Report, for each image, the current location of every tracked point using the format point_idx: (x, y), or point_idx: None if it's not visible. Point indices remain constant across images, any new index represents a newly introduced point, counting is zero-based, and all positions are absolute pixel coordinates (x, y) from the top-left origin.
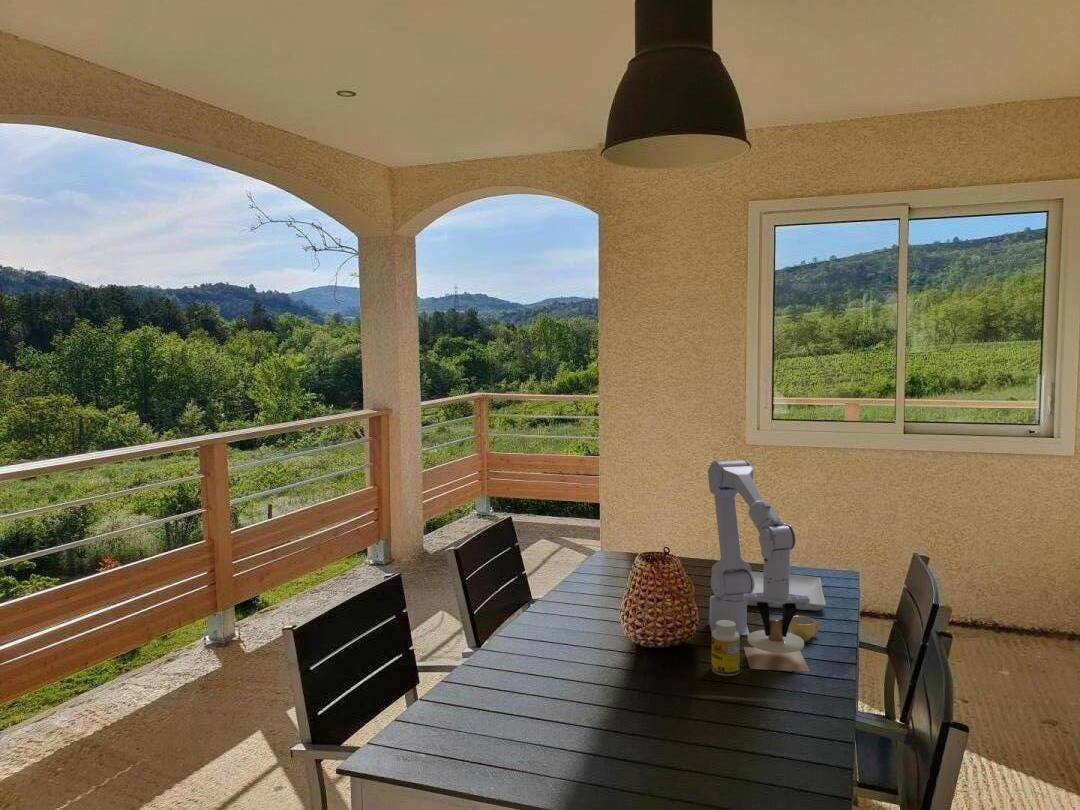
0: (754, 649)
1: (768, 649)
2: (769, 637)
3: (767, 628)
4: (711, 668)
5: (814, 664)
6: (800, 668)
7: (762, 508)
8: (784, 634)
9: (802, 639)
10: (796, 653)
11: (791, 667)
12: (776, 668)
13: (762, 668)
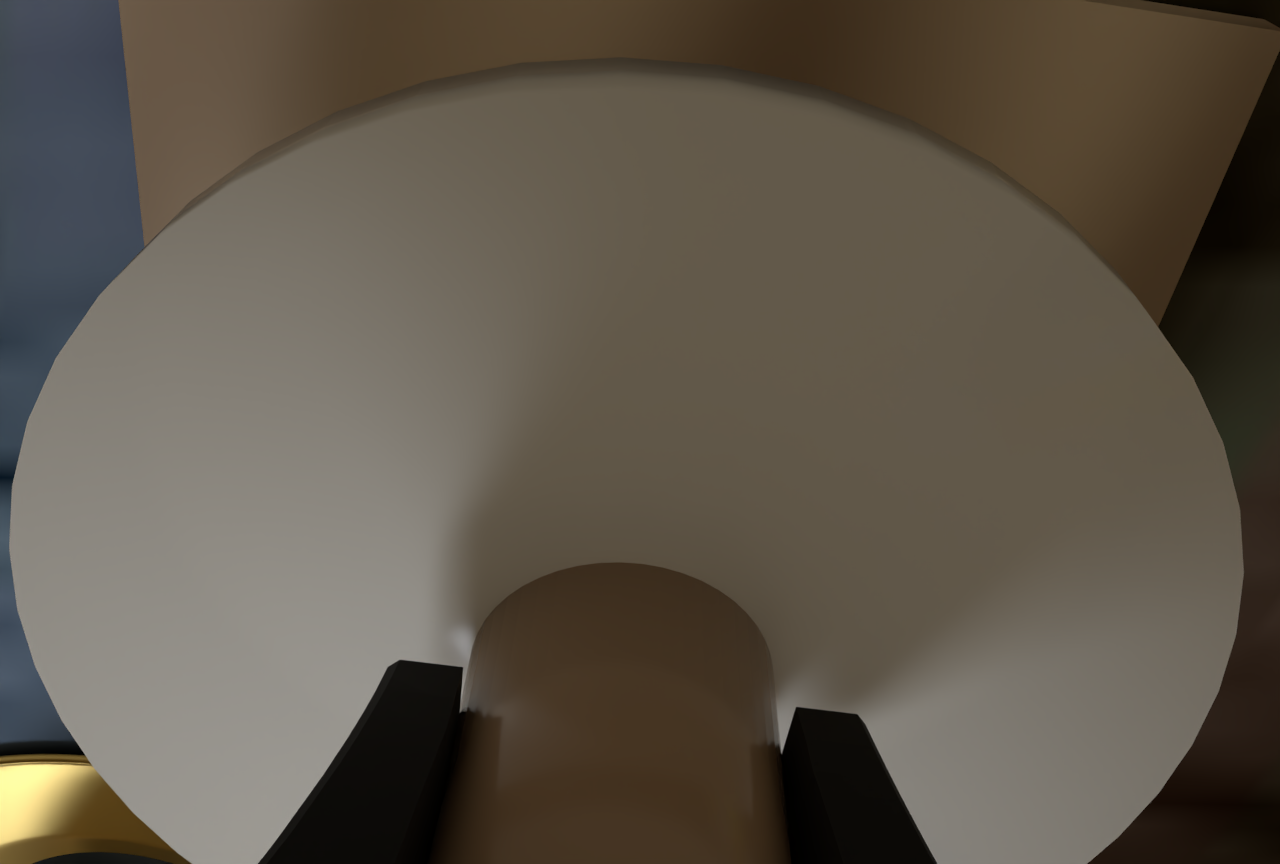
0: None
1: (1005, 179)
2: (773, 693)
3: (887, 856)
4: None
5: (19, 293)
6: (281, 14)
7: None
8: (427, 700)
9: (40, 657)
10: None
11: (447, 67)
12: (756, 20)
13: (1035, 26)
